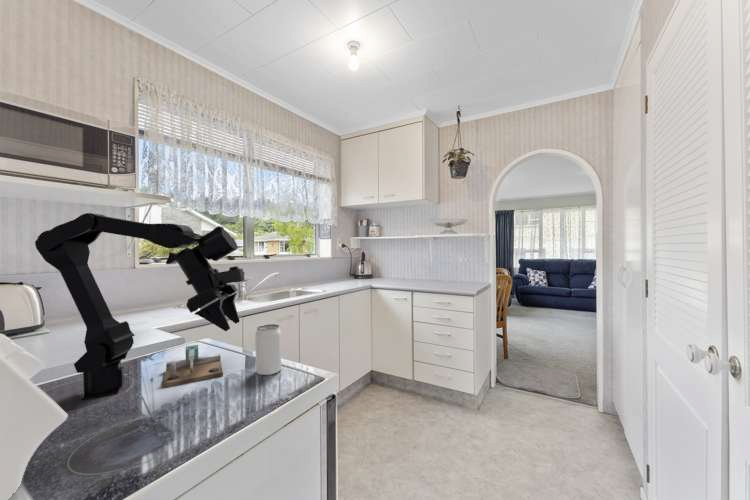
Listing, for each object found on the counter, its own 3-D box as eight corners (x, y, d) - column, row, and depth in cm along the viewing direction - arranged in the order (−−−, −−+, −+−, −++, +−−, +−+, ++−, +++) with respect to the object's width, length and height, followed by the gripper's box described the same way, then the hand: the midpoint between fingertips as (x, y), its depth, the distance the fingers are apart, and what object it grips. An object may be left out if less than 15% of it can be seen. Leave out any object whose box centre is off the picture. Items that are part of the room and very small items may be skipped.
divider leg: (184, 374, 79) (184, 357, 79) (186, 361, 88) (185, 346, 88) (198, 371, 81) (198, 355, 81) (198, 359, 89) (198, 344, 89)
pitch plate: (162, 387, 75) (162, 369, 75) (167, 370, 86) (166, 354, 85) (222, 376, 81) (222, 358, 81) (220, 361, 92) (219, 346, 92)
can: (256, 368, 86) (256, 325, 86) (281, 365, 88) (280, 323, 88) (255, 377, 80) (254, 331, 80) (281, 374, 82) (280, 328, 82)
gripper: (218, 252, 68) (256, 314, 68) (239, 255, 86) (268, 303, 87) (168, 279, 65) (208, 342, 66) (200, 276, 84) (231, 325, 85)
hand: (233, 326), depth 76 cm, fingers open, 9 cm apart
